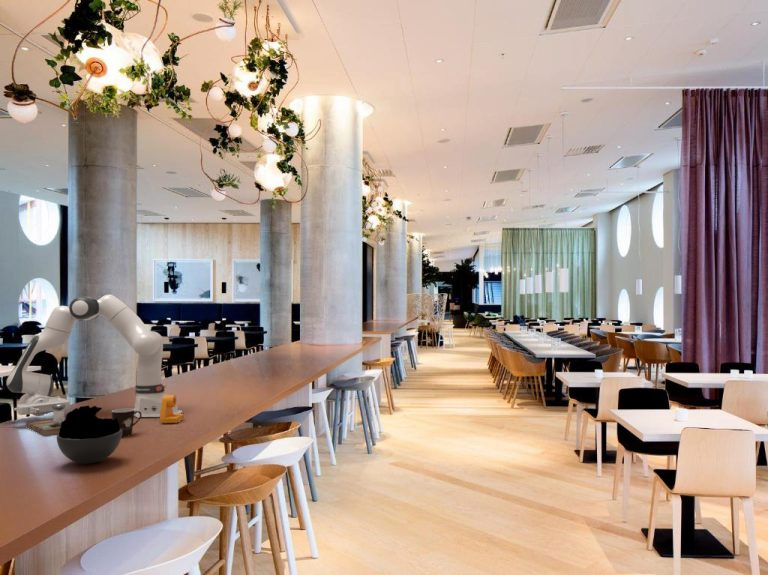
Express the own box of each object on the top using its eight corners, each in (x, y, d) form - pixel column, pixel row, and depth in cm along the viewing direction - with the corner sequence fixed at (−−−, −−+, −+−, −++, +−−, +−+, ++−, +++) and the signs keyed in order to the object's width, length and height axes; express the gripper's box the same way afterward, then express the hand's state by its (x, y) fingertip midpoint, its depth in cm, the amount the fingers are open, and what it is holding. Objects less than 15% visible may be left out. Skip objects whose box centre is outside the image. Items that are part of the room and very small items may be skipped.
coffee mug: (112, 438, 246) (112, 413, 246) (110, 434, 253) (110, 409, 254) (143, 435, 251) (143, 410, 251) (141, 431, 259) (141, 407, 259)
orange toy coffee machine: (176, 424, 273) (176, 397, 273) (159, 424, 273) (159, 397, 273) (184, 419, 283) (184, 393, 284) (168, 419, 283) (168, 393, 284)
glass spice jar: (68, 430, 261) (68, 403, 261) (60, 433, 256) (60, 405, 256) (57, 430, 262) (57, 403, 262) (49, 432, 257) (49, 405, 257)
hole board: (26, 427, 267) (26, 421, 267) (61, 422, 277) (61, 416, 277) (44, 436, 250) (44, 429, 250) (81, 431, 260) (81, 424, 260)
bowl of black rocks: (92, 453, 223) (92, 400, 223) (135, 458, 215) (135, 403, 215) (42, 467, 204) (42, 409, 205) (87, 473, 197) (87, 414, 197)
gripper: (12, 401, 270) (22, 405, 260) (63, 395, 284) (74, 399, 275) (12, 416, 270) (22, 420, 260) (63, 409, 284) (74, 413, 274)
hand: (49, 409), depth 267 cm, fingers open, 8 cm apart
